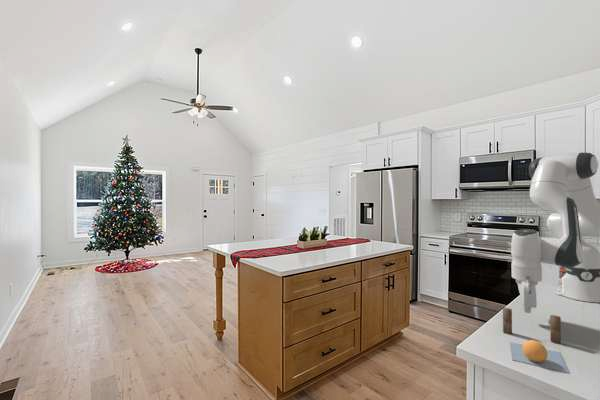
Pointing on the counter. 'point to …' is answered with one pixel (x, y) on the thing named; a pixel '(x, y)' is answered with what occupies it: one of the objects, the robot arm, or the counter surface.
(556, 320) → the post
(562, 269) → the supplement bottle
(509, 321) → the post
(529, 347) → the ball
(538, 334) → the counter surface
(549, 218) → the robot arm
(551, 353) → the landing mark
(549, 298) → the counter surface
